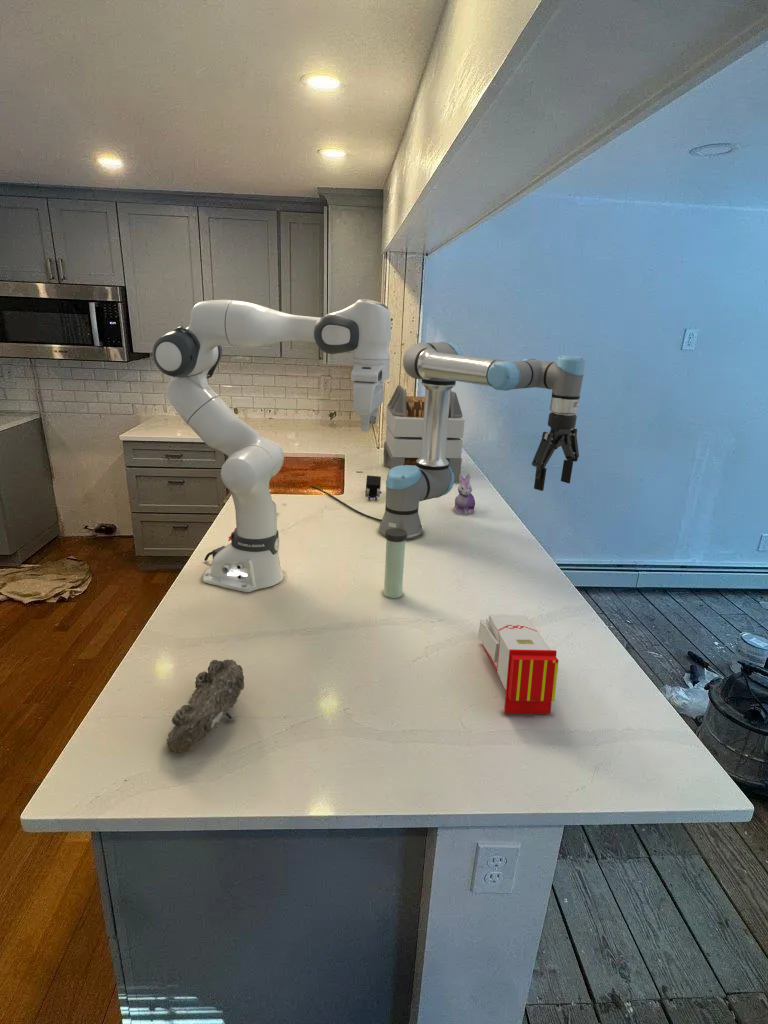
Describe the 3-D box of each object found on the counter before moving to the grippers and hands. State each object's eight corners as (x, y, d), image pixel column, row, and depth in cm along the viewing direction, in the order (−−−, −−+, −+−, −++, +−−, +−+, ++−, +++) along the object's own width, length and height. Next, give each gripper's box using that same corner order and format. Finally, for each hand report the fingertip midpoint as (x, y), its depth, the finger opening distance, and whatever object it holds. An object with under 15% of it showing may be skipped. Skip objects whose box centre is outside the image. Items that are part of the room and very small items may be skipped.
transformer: (382, 463, 289) (386, 382, 275) (445, 464, 293) (451, 384, 279) (390, 482, 257) (394, 392, 243) (460, 483, 261) (468, 394, 247)
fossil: (192, 660, 117) (244, 628, 112) (224, 691, 120) (276, 661, 115) (142, 746, 98) (202, 712, 93) (182, 779, 101) (242, 748, 96)
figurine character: (381, 505, 231) (380, 490, 245) (381, 488, 228) (381, 474, 241) (364, 505, 231) (365, 490, 244) (365, 488, 228) (365, 473, 241)
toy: (524, 600, 137) (567, 656, 108) (520, 651, 140) (560, 720, 111) (474, 599, 137) (504, 655, 107) (471, 650, 140) (498, 719, 110)
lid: (389, 532, 156) (389, 526, 155) (409, 535, 154) (409, 530, 153) (382, 540, 150) (382, 534, 150) (403, 543, 149) (403, 537, 148)
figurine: (461, 516, 219) (465, 479, 214) (447, 508, 227) (450, 472, 222) (481, 513, 223) (485, 477, 218) (466, 505, 231) (469, 470, 226)
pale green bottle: (387, 588, 161) (390, 529, 155) (404, 591, 159) (407, 532, 153) (381, 595, 156) (384, 535, 150) (398, 599, 155) (402, 538, 149)
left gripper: (366, 366, 148) (364, 418, 153) (349, 374, 129) (347, 434, 134) (390, 367, 147) (388, 420, 152) (376, 375, 128) (374, 436, 133)
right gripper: (548, 419, 148) (537, 496, 155) (598, 411, 163) (586, 482, 171) (525, 414, 153) (515, 489, 160) (575, 407, 169) (564, 476, 176)
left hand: (369, 427), depth 143 cm, fingers open, 8 cm apart
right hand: (552, 485), depth 166 cm, fingers open, 13 cm apart
